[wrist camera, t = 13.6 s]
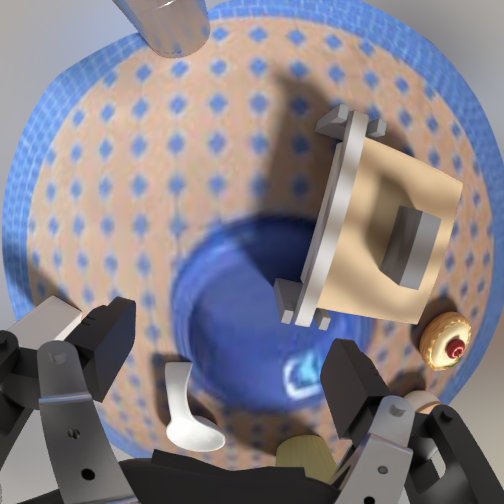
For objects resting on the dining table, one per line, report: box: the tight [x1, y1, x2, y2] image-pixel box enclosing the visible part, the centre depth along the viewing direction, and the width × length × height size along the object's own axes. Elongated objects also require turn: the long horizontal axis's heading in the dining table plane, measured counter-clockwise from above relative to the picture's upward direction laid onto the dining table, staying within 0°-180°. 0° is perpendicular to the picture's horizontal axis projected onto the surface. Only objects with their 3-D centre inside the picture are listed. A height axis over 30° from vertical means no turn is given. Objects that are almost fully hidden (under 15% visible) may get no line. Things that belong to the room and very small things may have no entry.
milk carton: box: [6, 295, 82, 350], centre depth 33 cm, size 7×7×19 cm
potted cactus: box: [275, 435, 337, 483], centre depth 38 cm, size 15×15×30 cm
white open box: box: [273, 104, 387, 330], centre depth 34 cm, size 25×20×10 cm
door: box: [293, 110, 463, 327], centre depth 28 cm, size 25×18×6 cm
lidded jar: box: [404, 390, 442, 414], centre depth 45 cm, size 11×11×9 cm
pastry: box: [419, 312, 471, 371], centre depth 41 cm, size 12×12×9 cm
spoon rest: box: [165, 362, 225, 451], centre depth 45 cm, size 24×12×7 cm, turn 5°
